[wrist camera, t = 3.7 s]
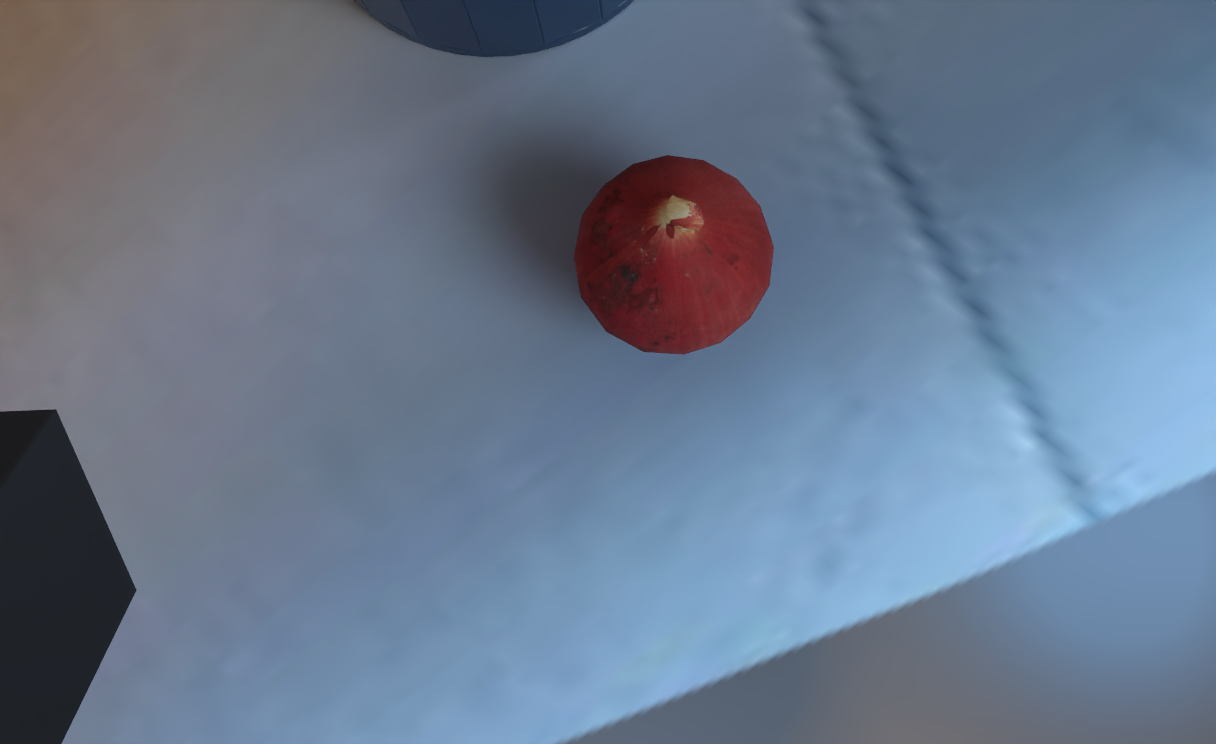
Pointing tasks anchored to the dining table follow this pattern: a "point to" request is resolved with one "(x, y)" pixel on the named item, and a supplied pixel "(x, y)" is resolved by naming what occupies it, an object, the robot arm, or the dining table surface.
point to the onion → (673, 255)
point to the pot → (493, 23)
